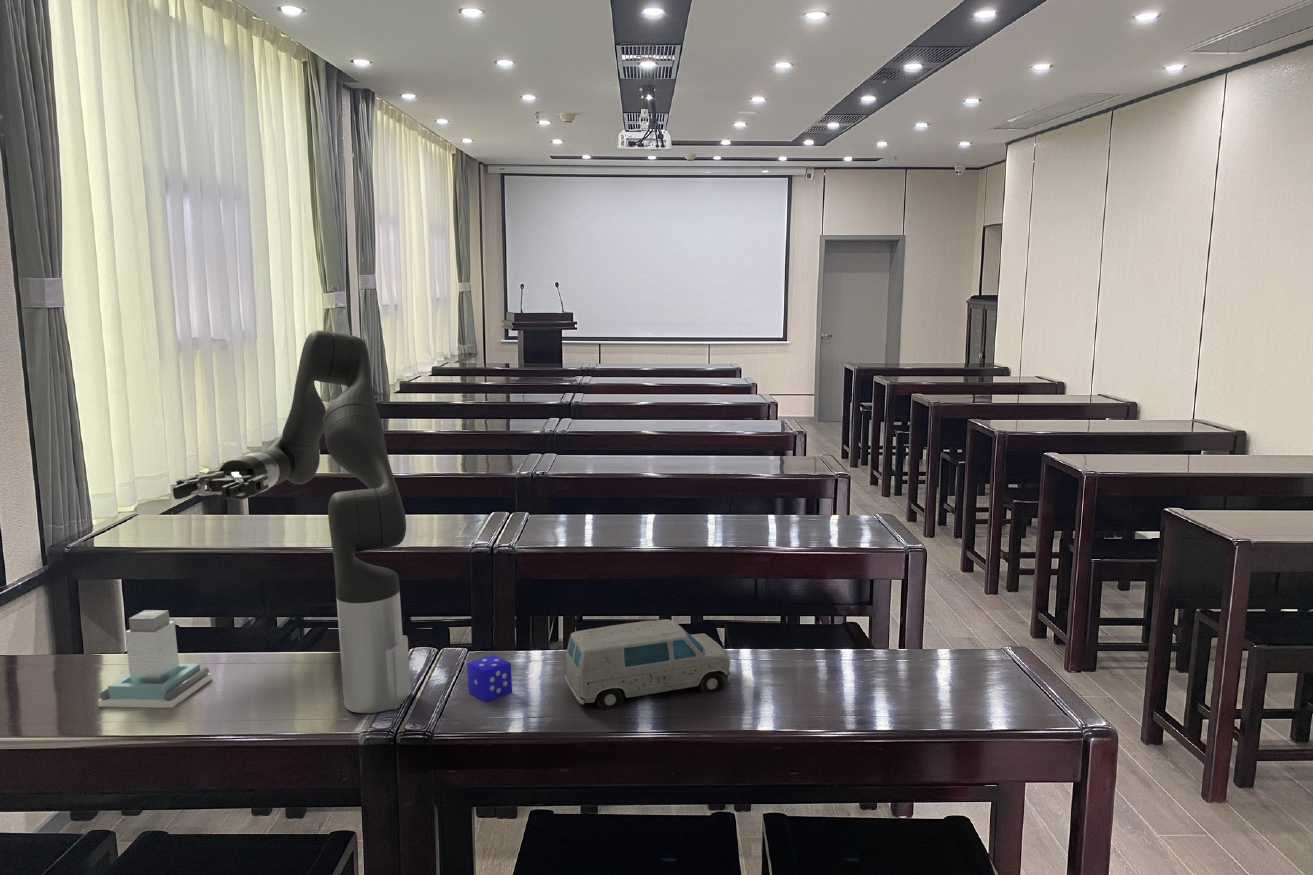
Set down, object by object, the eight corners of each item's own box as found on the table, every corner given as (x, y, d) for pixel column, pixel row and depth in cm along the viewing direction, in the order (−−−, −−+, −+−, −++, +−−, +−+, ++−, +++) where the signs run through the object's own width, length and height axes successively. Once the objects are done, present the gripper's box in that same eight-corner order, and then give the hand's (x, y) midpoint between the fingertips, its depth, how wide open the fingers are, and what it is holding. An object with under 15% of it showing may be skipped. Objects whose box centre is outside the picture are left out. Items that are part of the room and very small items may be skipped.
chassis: (211, 679, 156) (209, 661, 155) (171, 707, 145) (170, 689, 144) (143, 678, 157) (141, 660, 156) (98, 706, 146) (96, 688, 145)
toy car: (734, 690, 147) (733, 629, 145) (579, 715, 139) (577, 651, 138) (709, 666, 157) (708, 608, 155) (563, 688, 149) (561, 627, 148)
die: (468, 692, 148) (466, 662, 147) (495, 683, 151) (494, 654, 150) (485, 702, 144) (483, 671, 144) (512, 692, 148) (511, 662, 147)
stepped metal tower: (180, 680, 153) (173, 609, 151) (161, 693, 148) (154, 619, 146) (151, 679, 153) (143, 609, 151) (131, 692, 148) (123, 619, 147)
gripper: (211, 455, 174) (157, 471, 158) (284, 454, 173) (238, 471, 157) (214, 495, 175) (161, 515, 159) (288, 494, 174) (242, 515, 158)
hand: (199, 493), depth 158 cm, fingers open, 8 cm apart
